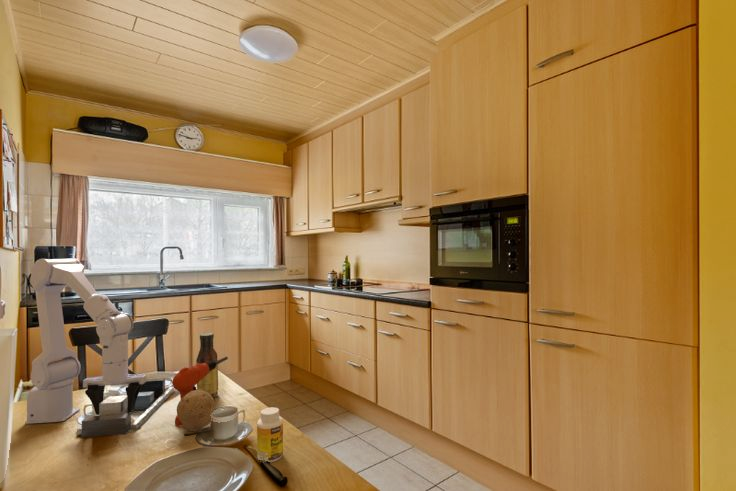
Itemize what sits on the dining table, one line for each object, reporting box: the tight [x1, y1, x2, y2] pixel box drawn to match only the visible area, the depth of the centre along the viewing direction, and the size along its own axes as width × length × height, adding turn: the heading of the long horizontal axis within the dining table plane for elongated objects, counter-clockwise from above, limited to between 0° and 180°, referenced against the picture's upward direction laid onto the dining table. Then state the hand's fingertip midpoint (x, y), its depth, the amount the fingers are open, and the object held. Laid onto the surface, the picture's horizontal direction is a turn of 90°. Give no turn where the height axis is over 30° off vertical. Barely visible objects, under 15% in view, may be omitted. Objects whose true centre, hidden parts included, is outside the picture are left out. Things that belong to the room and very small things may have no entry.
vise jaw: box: [119, 378, 166, 411], centre depth 117 cm, size 10×12×5 cm
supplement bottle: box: [256, 407, 284, 464], centre depth 85 cm, size 6×6×10 cm
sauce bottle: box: [195, 332, 219, 399], centre depth 121 cm, size 7×6×20 cm
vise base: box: [76, 386, 175, 438], centre depth 110 cm, size 14×30×4 cm, turn 9°
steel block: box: [99, 395, 128, 415], centre depth 101 cm, size 5×5×7 cm
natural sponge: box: [176, 390, 216, 432], centre depth 99 cm, size 9×9×10 cm
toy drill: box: [171, 356, 229, 427], centre depth 109 cm, size 5×19×15 cm, turn 154°
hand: (115, 412), depth 102 cm, fingers open, 7 cm apart
